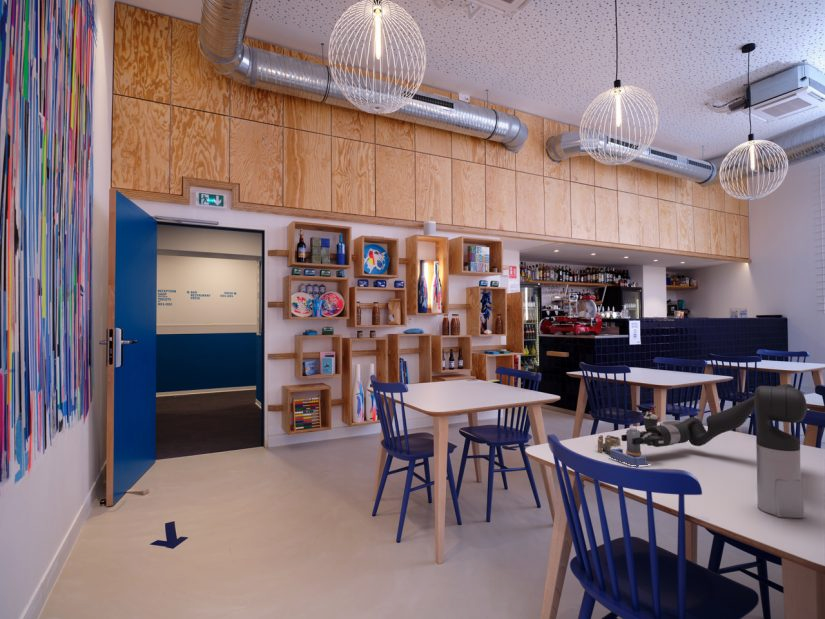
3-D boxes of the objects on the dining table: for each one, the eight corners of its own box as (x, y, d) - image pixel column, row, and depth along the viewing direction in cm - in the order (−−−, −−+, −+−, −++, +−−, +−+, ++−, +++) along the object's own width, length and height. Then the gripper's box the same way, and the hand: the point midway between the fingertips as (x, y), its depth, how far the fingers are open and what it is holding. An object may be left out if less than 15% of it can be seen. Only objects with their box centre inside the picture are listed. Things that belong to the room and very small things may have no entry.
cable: (611, 454, 170) (611, 451, 170) (601, 453, 172) (601, 450, 172) (613, 444, 185) (613, 441, 185) (603, 443, 186) (603, 440, 186)
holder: (625, 456, 170) (625, 447, 170) (651, 465, 159) (651, 456, 159) (609, 458, 167) (609, 449, 167) (634, 468, 156) (634, 458, 156)
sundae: (662, 444, 186) (661, 407, 186) (644, 443, 187) (644, 407, 187) (657, 440, 192) (656, 404, 192) (640, 439, 194) (639, 404, 194)
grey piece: (643, 459, 161) (643, 428, 161) (629, 459, 161) (628, 428, 162) (638, 455, 166) (637, 425, 166) (624, 454, 166) (623, 425, 167)
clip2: (611, 447, 181) (610, 436, 181) (608, 449, 179) (608, 438, 179) (600, 446, 184) (600, 435, 184) (598, 447, 181) (598, 436, 181)
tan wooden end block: (609, 442, 188) (609, 434, 188) (620, 445, 185) (620, 436, 185) (605, 444, 186) (604, 436, 186) (615, 446, 182) (615, 438, 182)
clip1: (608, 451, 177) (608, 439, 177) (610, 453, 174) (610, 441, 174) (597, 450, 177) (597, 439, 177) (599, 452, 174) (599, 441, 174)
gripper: (680, 450, 162) (643, 455, 156) (647, 440, 175) (612, 445, 170) (680, 429, 162) (643, 434, 156) (647, 421, 175) (612, 425, 170)
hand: (627, 439), depth 163 cm, fingers closed on grey piece, 4 cm apart
